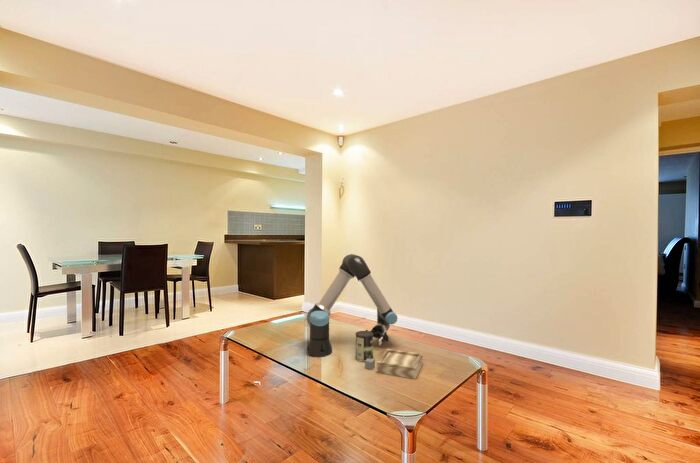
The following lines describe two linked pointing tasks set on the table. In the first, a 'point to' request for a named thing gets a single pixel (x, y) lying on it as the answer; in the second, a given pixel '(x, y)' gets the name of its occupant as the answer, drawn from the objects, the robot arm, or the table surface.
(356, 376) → the table surface
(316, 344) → the robot arm
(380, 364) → the light wood tray
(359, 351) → the coffee can
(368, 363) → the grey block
